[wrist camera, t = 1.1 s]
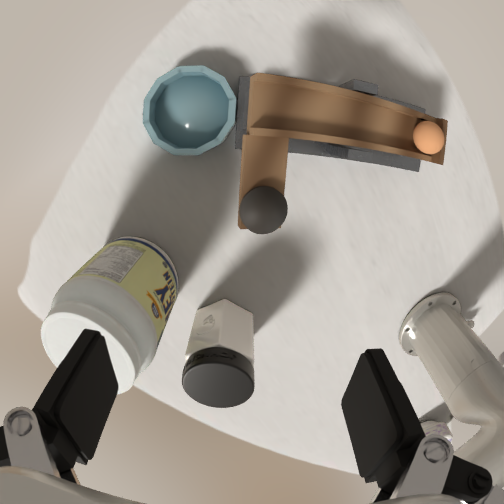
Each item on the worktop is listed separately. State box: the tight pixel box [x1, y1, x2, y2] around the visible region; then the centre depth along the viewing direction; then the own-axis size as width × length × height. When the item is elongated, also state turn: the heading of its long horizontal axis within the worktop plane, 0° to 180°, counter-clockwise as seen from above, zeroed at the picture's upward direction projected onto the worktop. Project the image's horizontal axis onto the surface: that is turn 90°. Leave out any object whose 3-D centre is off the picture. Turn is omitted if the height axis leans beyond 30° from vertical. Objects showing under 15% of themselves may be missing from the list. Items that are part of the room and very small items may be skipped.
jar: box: [182, 299, 254, 408], centre depth 36 cm, size 9×8×12 cm
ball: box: [413, 121, 445, 154], centre depth 24 cm, size 4×4×4 cm
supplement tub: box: [41, 236, 178, 394], centre depth 30 cm, size 12×12×17 cm
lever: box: [238, 73, 448, 234], centre depth 25 cm, size 22×13×3 cm, turn 86°
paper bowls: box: [420, 421, 452, 442], centre depth 54 cm, size 15×15×8 cm
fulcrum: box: [235, 76, 425, 172], centre depth 27 cm, size 23×8×8 cm, turn 86°
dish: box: [143, 66, 237, 155], centre depth 29 cm, size 10×10×3 cm
